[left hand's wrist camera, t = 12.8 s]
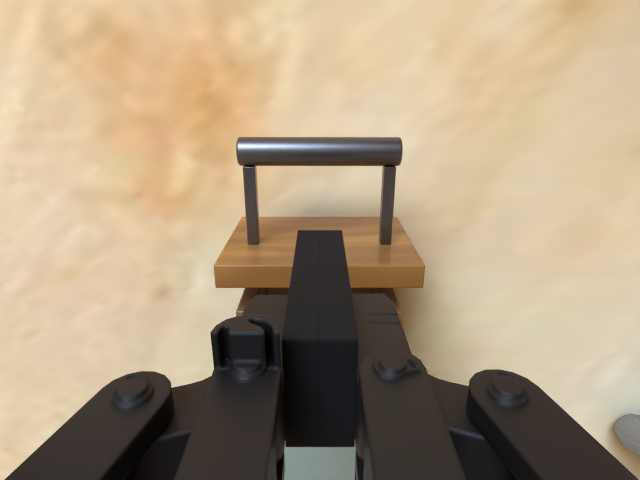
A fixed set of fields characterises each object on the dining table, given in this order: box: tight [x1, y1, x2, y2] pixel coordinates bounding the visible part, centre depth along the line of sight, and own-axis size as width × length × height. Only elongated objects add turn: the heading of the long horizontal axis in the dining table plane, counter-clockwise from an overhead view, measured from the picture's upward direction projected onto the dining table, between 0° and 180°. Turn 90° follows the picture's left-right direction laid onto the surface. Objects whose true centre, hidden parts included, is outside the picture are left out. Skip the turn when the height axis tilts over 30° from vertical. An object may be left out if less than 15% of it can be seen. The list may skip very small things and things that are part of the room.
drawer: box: [214, 137, 425, 324], centre depth 25 cm, size 20×10×8 cm, turn 0°
